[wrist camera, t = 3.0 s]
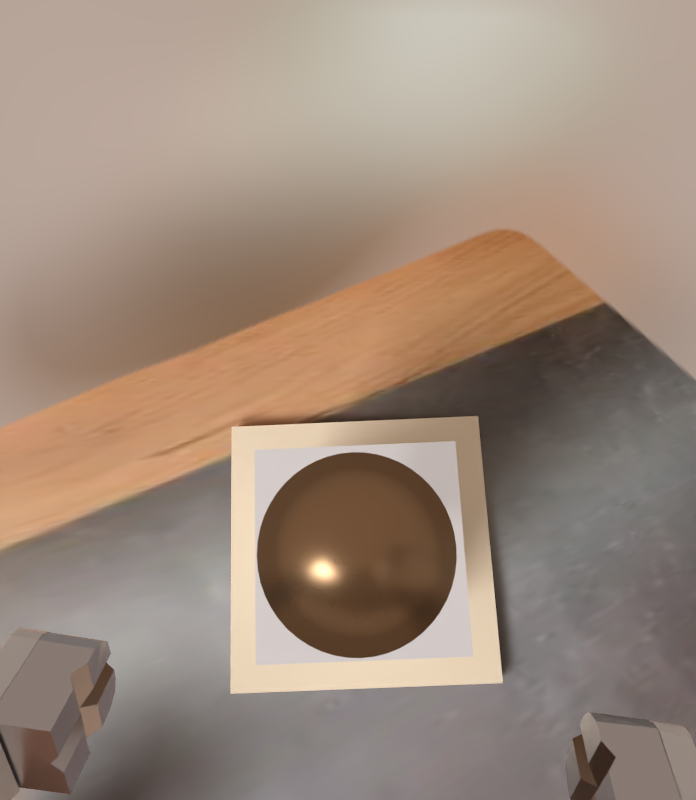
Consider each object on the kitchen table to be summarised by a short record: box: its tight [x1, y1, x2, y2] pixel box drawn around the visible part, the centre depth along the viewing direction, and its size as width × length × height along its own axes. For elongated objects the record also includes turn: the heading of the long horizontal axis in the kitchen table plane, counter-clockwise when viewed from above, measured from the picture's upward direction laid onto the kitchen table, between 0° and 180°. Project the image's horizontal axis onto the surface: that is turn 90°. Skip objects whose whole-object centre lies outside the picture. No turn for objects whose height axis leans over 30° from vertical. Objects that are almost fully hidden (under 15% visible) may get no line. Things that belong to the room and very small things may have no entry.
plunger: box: [257, 452, 457, 658], centre depth 20 cm, size 7×7×18 cm
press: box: [231, 416, 503, 694], centre depth 35 cm, size 18×18×18 cm
